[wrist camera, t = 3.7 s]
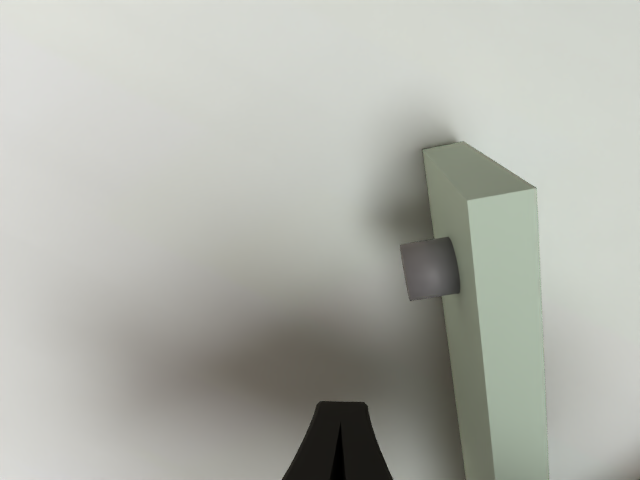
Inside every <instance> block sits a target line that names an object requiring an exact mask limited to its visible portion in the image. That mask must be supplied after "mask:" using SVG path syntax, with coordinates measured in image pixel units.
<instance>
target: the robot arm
mask: <svg viewBox="0 0 640 480" xmlns="http://www.w3.org/2000/svg"><path fill="white" fill-rule="evenodd" d="M282 480H393V478H392V476H391V474H390V472H389V470H388V467H387V465H386V462H385V460H384V458H383V455H382V453H381V451H380V448H379V445H378V443H377V440H376V437H375V434H374V431H373V428H372V425H371V421H370V417H369V412H368V406H367V405H366V404H365V403H364V402H332V401H320V402H319V403H318V404H317V406H316V409H315V412H314V415H313V418H312V421H311V423H310V426H309V428H308V430H307V433H306V435H305V437H304V439H303V441H302V443H301V445H300V447H299V449H298V451H297V453H296V455H295V457H294V459H293V461H292V463H291V465H290V467H289V468H288V470H287V472H286V473H285V475H284V477H283V479H282Z"/></svg>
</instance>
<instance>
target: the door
mask: <svg viewBox="0 0 640 480" xmlns="http://www.w3.org/2000/svg"><path fill="white" fill-rule="evenodd" d="M423 158H424V165H425V173H426V180H427V188H428V196H429V203H430V211H431V218H432V226H433V233H434V239H431V240H425V241H419V242H413V243H407V244H401V245H400V249H401V257H402V263H403V269H404V274H405V280H406V285H407V290H408V295H409V299H410V301H412V300H418V299H425V298H432V297H438V296H442V302H443V309H444V317H445V325H446V332H447V340H448V347H449V355H450V362H451V370H452V378H453V385H454V393H455V400H456V408H457V416H458V423H459V431H460V438H461V446H462V454H463V461H464V469H465V476H466V480H549V465H548V441H547V418H546V395H545V372H544V348H543V325H542V302H541V279H540V255H539V232H538V209H537V188H536V187H534V186H533V185H531V184H529V183H528V182H526V181H525V180H523V179H522V178H520V177H518V176H517V175H515V174H514V173H512V172H511V171H509V170H508V169H506V168H504V167H503V166H501V165H500V164H498V163H497V162H495V161H493V160H492V159H490V158H489V157H487V156H486V155H484V154H482V153H481V152H479V151H478V150H476V149H475V148H473V147H471V146H470V145H468V144H467V143H465V142H464V141H463V142H458V143H453V144H448V145H443V146H438V147H433V148H428V149H423Z"/></svg>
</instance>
